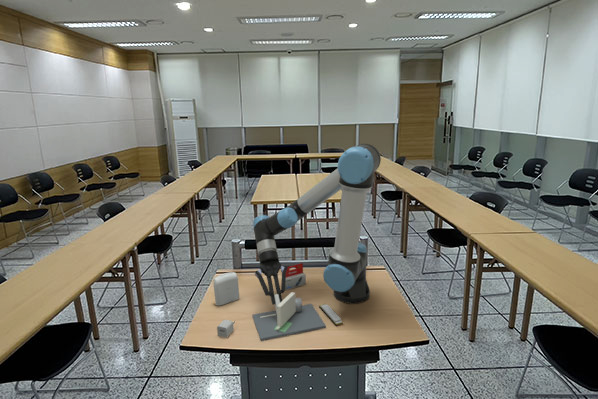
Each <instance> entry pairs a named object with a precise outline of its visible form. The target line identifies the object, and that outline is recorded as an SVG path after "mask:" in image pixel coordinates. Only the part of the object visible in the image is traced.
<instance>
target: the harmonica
mask: <svg viewBox="0 0 598 399" xmlns="http://www.w3.org/2000/svg"><path fill="white" fill-rule="evenodd" d="M318 309H320V311H322V313H323V314H324V315H325V316H326V317H327V318H328V319H329V320H330V322H331V323H332V324H333V325H334V326H335V327H337V328H338V327H340V326H343V325H344V321H342V318H341V317H340V316H339V315H338V314H337V313H336V312H335V311H334V310H333V309H332V308H331V306H330V305H329V304H326V303H324V304H320V305H319V306H318Z"/></svg>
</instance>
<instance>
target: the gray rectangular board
mask: <svg viewBox="0 0 598 399" xmlns="http://www.w3.org/2000/svg"><path fill="white" fill-rule="evenodd" d="M251 315H252V319H253V323H254V326H255V328H256V331H257V334H258V337H259V341H260V342H263V341H264V340H265V341H268V340H274V339H279V338H283V337H289V336H294V335H299V334H303V333H307V332H313V331H318V330H323V329H326V328H327V326H326V323H325V322H324V320H323V319H322V317H321V315H319V313H318V311H317V310H316V308H315V307H314V305H313V304H312V303H308V304H307V303H306V304H302V311H300V312H295V313H294V314H293V315H292V316H291V317H290V318H289V320H288V321H287V322H286V323H285V324H284V325H283V326H282V327H281V328H280V329H279V330H276V328H277V327H278V326H277V313H276V309H274V310H269V311H264V312H260V313H259V312H258V313H253V314H251Z"/></svg>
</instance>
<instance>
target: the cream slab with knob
mask: <svg viewBox="0 0 598 399" xmlns="http://www.w3.org/2000/svg"><path fill="white" fill-rule="evenodd" d="M302 305H303V299H302V298H301V297H296V292H293V291H291V292H290V293H289V294H287V296H285V297H284V299H282V302H280V303H279V304H278V305H277V326H278V327H277V328H276V330H279V329H280V328H281V327H282V326H283V325H284V324H285V323H286V322H287V321H288V320H289V318H290V317H291V316H292V315H293V314H294V313H295V312H300V311H302Z"/></svg>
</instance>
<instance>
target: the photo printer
mask: <svg viewBox="0 0 598 399" xmlns="http://www.w3.org/2000/svg"><path fill="white" fill-rule="evenodd" d="M212 282H213V292H214V300H215V303H214V304H215V305H216V306H223V305H226V304H229V303H233V302H235V301H237V300H239V299H240V291H239V287H240V286H239V278H238V275H237V273H236V272H233V271H232V272H226V273H222V274H219V275H217V276H216V277H214V278H213V281H212Z"/></svg>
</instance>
